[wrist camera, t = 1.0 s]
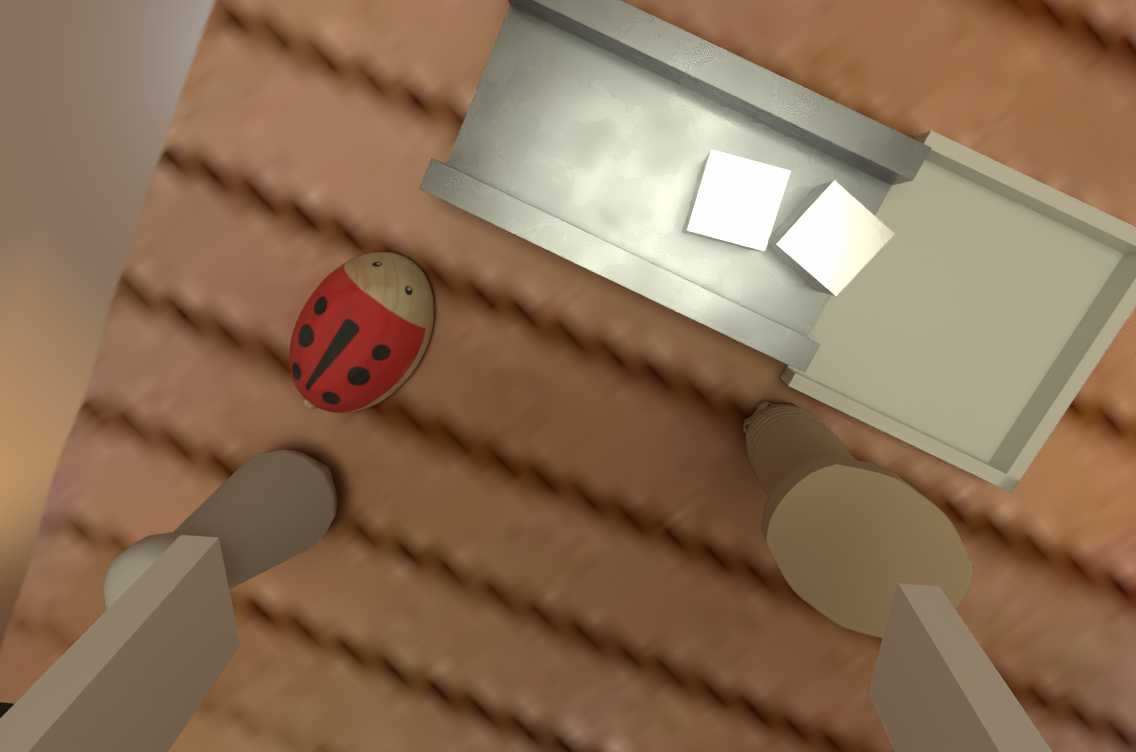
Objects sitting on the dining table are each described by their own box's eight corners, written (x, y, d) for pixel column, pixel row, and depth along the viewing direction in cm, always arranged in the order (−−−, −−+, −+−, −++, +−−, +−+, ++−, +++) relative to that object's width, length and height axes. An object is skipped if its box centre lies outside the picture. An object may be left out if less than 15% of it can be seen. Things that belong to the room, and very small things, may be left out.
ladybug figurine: (466, 295, 36) (447, 300, 33) (373, 438, 38) (346, 457, 35) (362, 223, 36) (333, 220, 32) (275, 370, 38) (238, 383, 34)
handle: (754, 355, 35) (839, 433, 20) (851, 428, 35) (1006, 559, 20) (695, 425, 36) (736, 550, 21) (790, 497, 36) (896, 669, 21)
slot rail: (900, 158, 32) (931, 147, 29) (788, 360, 35) (804, 372, 31) (526, -20, 33) (513, -51, 29) (440, 194, 35) (419, 188, 31)
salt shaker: (339, 432, 38) (190, 525, 25) (362, 526, 39) (229, 662, 26) (244, 446, 39) (53, 544, 26) (269, 538, 40) (96, 676, 27)
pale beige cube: (774, 178, 32) (790, 170, 29) (751, 250, 33) (764, 251, 29) (703, 159, 32) (711, 149, 29) (682, 231, 33) (687, 230, 30)
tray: (1139, 246, 32) (1175, 245, 30) (988, 477, 35) (1011, 492, 33) (911, 138, 32) (931, 130, 30) (779, 377, 35) (788, 386, 33)
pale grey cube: (867, 235, 32) (895, 233, 29) (815, 291, 33) (836, 296, 30) (813, 187, 32) (834, 180, 29) (762, 244, 33) (776, 244, 29)
